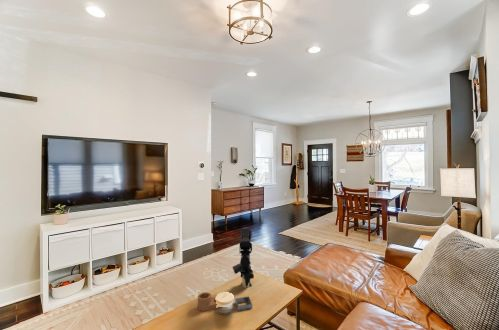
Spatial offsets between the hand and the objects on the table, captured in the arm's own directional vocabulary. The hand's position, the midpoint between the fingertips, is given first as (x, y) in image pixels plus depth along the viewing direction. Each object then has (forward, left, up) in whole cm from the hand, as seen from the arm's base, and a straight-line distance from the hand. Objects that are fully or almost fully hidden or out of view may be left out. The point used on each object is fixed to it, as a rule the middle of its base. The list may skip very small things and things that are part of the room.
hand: (245, 284), depth 152 cm
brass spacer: (0, 0, -1) cm, 1 cm away
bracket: (-2, -22, -12) cm, 25 cm away
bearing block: (+3, -2, -12) cm, 12 cm away
